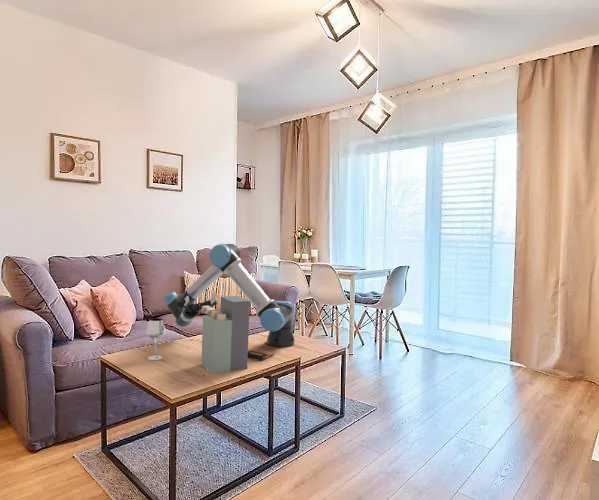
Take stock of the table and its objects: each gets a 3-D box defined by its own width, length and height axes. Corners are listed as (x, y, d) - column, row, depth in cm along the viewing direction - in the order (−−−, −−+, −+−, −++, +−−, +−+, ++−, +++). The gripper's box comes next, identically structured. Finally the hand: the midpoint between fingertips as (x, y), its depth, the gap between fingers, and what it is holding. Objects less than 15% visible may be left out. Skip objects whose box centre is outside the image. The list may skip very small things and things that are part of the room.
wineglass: (157, 354, 192) (158, 316, 191) (168, 358, 187) (169, 319, 186) (142, 358, 185) (143, 319, 184) (152, 362, 180) (153, 322, 179)
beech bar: (201, 311, 189) (201, 305, 188) (207, 310, 190) (208, 305, 190) (218, 321, 170) (219, 315, 170) (225, 320, 172) (225, 314, 172)
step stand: (201, 364, 181) (203, 297, 179) (234, 359, 189) (236, 295, 188) (212, 373, 169) (214, 302, 168) (247, 368, 177) (249, 300, 176)
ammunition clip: (243, 352, 194) (258, 347, 204) (243, 356, 194) (257, 351, 204) (262, 356, 188) (275, 351, 199) (261, 360, 188) (275, 355, 199)
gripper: (213, 317, 216) (227, 303, 200) (166, 321, 202) (177, 306, 186) (211, 304, 218) (225, 289, 203) (164, 307, 205) (175, 291, 189)
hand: (202, 297), depth 194 cm, fingers open, 13 cm apart
